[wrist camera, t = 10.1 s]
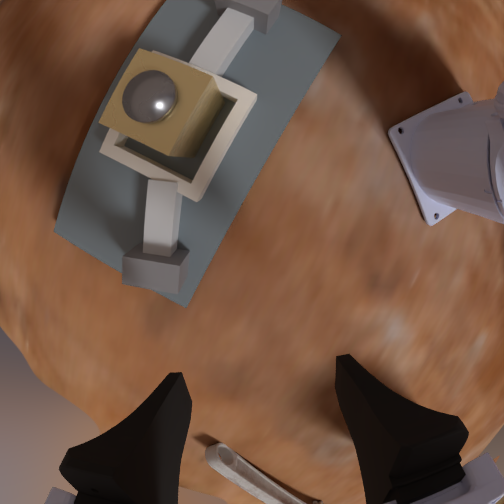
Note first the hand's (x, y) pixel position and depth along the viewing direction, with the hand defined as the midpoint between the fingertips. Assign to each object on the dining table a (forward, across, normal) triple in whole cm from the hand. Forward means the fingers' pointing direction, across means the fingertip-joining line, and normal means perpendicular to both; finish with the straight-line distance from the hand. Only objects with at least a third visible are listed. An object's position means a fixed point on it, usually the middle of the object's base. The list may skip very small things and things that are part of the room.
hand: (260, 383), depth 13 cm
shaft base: (+9, +3, -13) cm, 16 cm away
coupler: (+8, +3, -13) cm, 16 cm away
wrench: (+10, 0, +30) cm, 31 cm away
